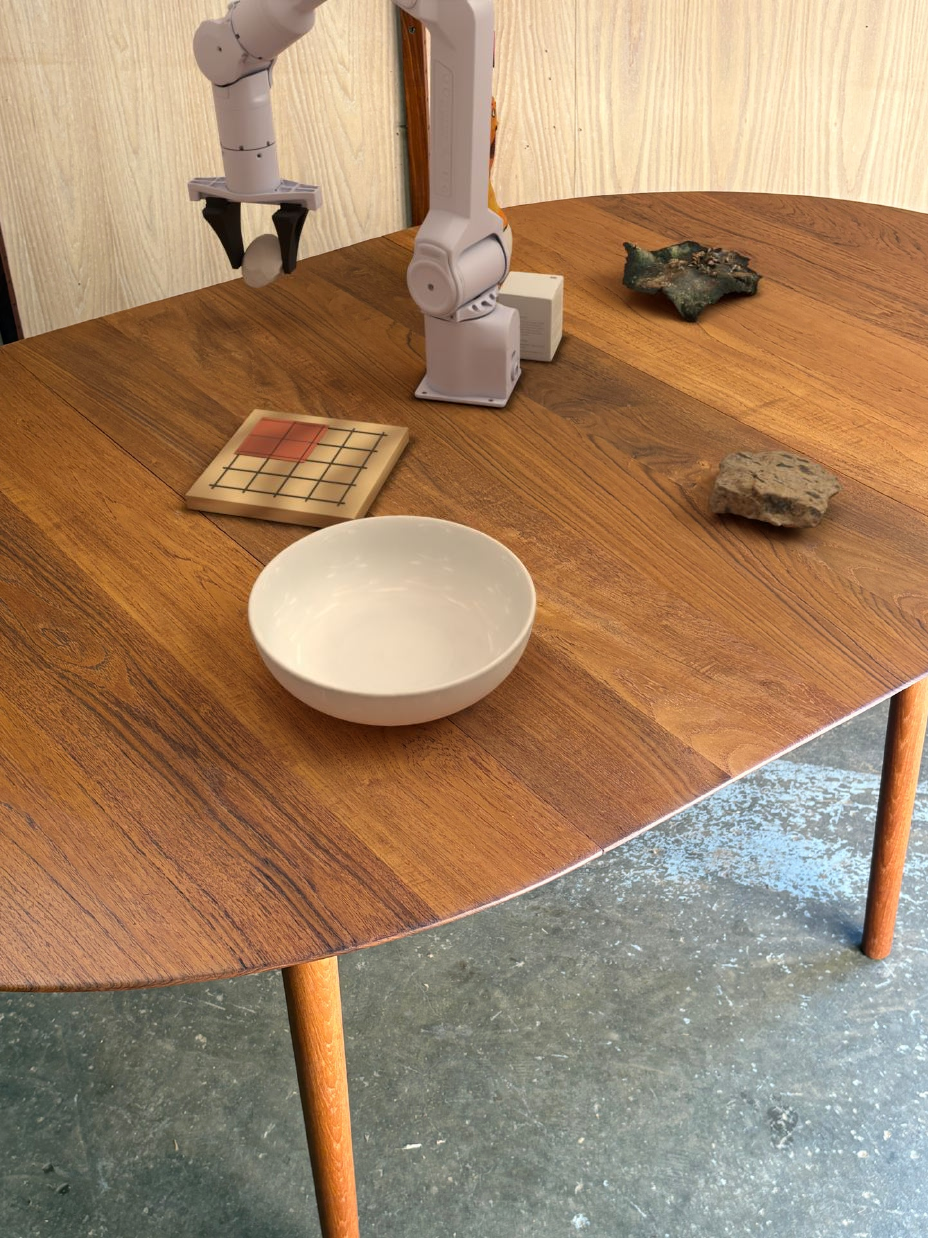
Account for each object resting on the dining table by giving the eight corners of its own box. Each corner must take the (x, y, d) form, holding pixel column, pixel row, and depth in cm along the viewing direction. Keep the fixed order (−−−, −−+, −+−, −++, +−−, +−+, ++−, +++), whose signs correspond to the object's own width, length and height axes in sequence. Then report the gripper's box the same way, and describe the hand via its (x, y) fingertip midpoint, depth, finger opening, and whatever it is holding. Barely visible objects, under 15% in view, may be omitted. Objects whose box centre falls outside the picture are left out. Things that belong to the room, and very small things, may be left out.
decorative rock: (669, 213, 152) (785, 227, 145) (667, 262, 155) (780, 278, 148) (598, 256, 139) (722, 273, 132) (597, 308, 142) (718, 328, 135)
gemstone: (312, 248, 135) (281, 230, 131) (297, 302, 135) (266, 286, 131) (273, 244, 138) (242, 227, 134) (259, 297, 138) (227, 281, 134)
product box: (509, 332, 136) (509, 269, 132) (563, 337, 135) (565, 274, 130) (496, 356, 132) (495, 292, 127) (551, 362, 130) (552, 298, 126)
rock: (848, 485, 110) (857, 444, 108) (817, 550, 103) (825, 507, 100) (735, 460, 114) (740, 420, 112) (697, 520, 107) (701, 479, 104)
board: (409, 440, 118) (408, 426, 117) (355, 532, 106) (353, 517, 105) (256, 421, 122) (254, 407, 121) (187, 508, 110) (184, 494, 109)
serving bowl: (309, 802, 82) (298, 728, 78) (228, 624, 97) (215, 554, 93) (583, 712, 88) (587, 639, 84) (467, 558, 103) (465, 489, 99)
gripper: (327, 133, 127) (338, 259, 136) (200, 125, 130) (219, 248, 139) (302, 155, 122) (316, 284, 131) (170, 146, 125) (192, 273, 134)
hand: (264, 268), depth 134 cm, fingers closed on gemstone, 5 cm apart
